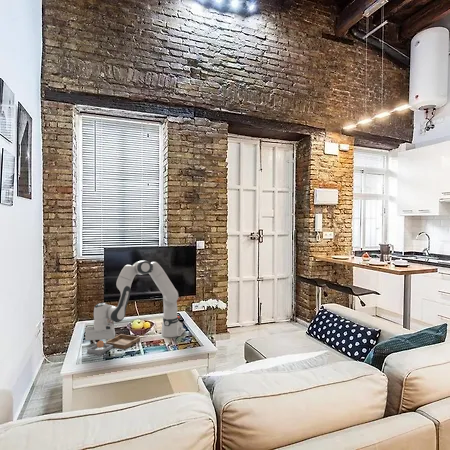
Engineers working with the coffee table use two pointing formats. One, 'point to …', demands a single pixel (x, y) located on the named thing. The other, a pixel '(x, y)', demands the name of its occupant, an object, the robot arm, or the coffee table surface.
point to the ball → (100, 344)
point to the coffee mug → (92, 340)
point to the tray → (98, 352)
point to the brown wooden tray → (123, 341)
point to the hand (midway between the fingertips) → (100, 345)
